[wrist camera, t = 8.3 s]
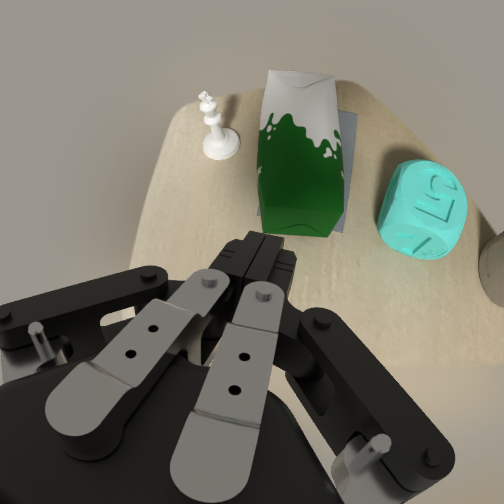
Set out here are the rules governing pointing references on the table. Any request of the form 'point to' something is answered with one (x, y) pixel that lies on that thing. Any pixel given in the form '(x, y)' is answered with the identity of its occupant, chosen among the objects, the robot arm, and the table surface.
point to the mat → (344, 158)
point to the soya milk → (300, 155)
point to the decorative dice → (422, 210)
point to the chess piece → (217, 132)
